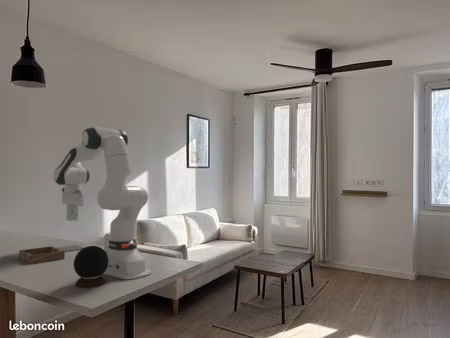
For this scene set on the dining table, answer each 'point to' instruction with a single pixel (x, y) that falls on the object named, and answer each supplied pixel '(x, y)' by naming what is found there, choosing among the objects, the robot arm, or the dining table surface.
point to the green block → (71, 213)
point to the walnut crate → (41, 254)
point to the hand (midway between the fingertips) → (72, 212)
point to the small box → (106, 242)
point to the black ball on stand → (90, 266)
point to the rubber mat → (71, 248)
